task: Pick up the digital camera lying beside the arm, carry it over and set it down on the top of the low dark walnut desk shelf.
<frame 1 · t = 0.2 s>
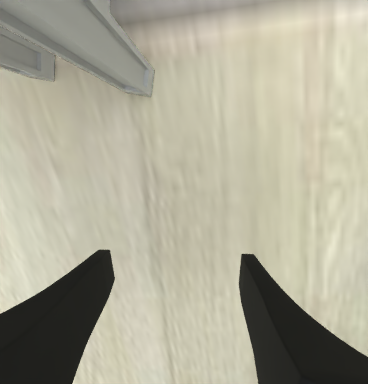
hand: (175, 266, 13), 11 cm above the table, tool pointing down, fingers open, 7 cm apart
stool: (95, 16, 20), on the table
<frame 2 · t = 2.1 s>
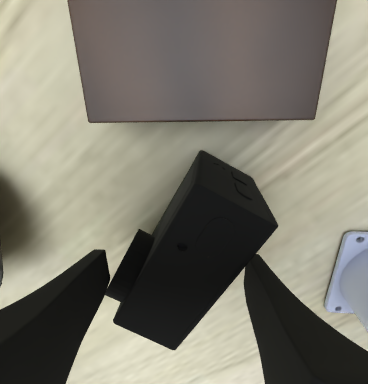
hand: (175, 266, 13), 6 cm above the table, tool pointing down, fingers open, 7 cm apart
digital camera: (186, 213, 19), on the table, touching gripper
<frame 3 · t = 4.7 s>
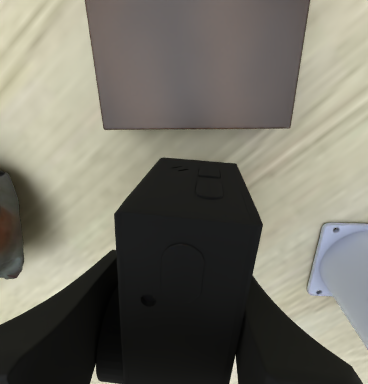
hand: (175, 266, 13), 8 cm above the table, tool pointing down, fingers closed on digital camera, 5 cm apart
digital camera: (181, 235, 15), point 6 cm above the table, touching gripper
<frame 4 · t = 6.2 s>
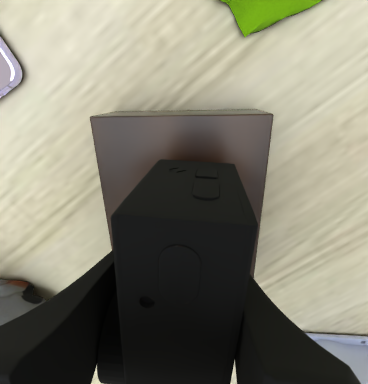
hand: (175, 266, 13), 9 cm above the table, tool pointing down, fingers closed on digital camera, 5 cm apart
desk shelf: (185, 199, 21), on the table
digital camera: (182, 236, 15), point 6 cm above the table, touching gripper
lucky cat figurine: (8, 307, 28), on the table
when the fingers open (7 cm above the table, at t = 7.3 s): digital camera stays where it is, resting on desk shelf.
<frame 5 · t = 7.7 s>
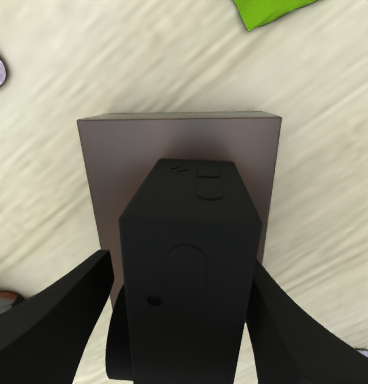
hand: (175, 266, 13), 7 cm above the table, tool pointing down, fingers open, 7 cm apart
desk shelf: (184, 207, 19), on the table
digital camera: (182, 233, 15), point 4 cm above the table, touching desk shelf
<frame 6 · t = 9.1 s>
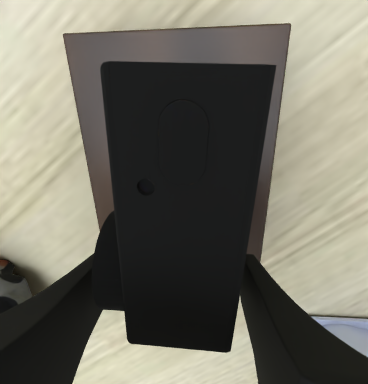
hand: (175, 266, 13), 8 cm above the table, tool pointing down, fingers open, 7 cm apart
desk shelf: (183, 158, 18), on the table
digital camera: (181, 172, 14), point 4 cm above the table, touching desk shelf
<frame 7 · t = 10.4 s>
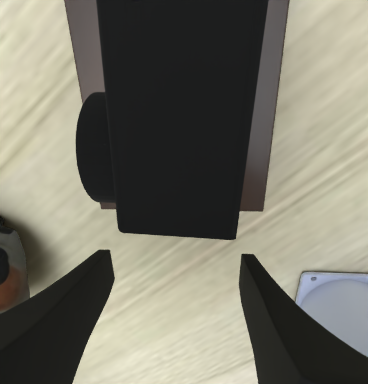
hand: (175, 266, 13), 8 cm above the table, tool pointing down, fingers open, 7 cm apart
desk shelf: (182, 90, 17), on the table
digital camera: (180, 84, 13), point 4 cm above the table, touching desk shelf
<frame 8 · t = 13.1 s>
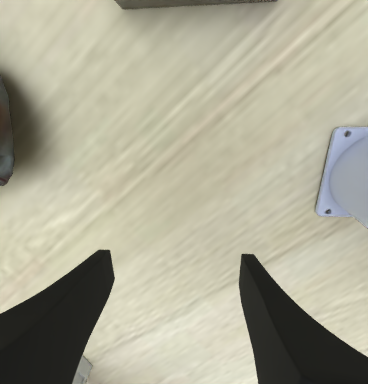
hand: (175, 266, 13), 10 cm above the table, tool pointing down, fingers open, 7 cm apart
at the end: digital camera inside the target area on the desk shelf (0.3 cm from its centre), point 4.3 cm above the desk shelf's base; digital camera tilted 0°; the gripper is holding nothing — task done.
